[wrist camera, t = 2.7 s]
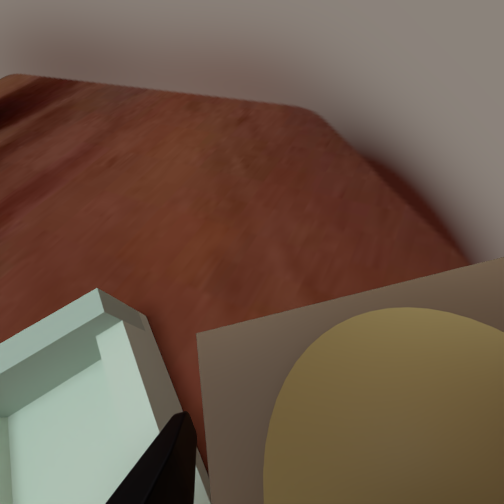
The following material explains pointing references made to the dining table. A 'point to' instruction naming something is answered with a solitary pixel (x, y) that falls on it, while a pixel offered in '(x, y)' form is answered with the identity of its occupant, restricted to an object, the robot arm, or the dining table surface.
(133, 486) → the robot arm
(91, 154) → the dining table surface
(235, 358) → the walnut block
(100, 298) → the sage cradle
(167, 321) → the dining table surface
